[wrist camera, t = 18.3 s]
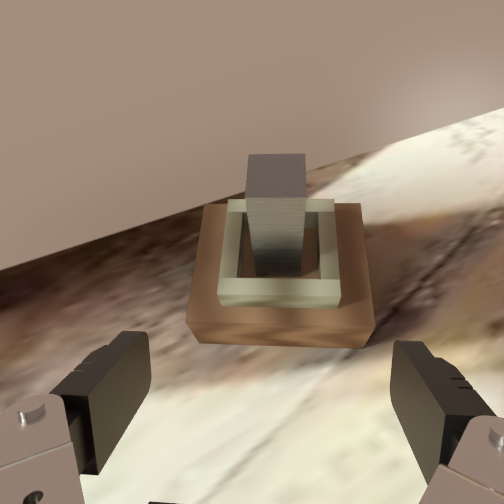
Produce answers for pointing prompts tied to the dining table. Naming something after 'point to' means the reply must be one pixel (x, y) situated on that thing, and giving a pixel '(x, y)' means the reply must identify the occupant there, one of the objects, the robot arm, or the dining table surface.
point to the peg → (276, 212)
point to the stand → (282, 282)
